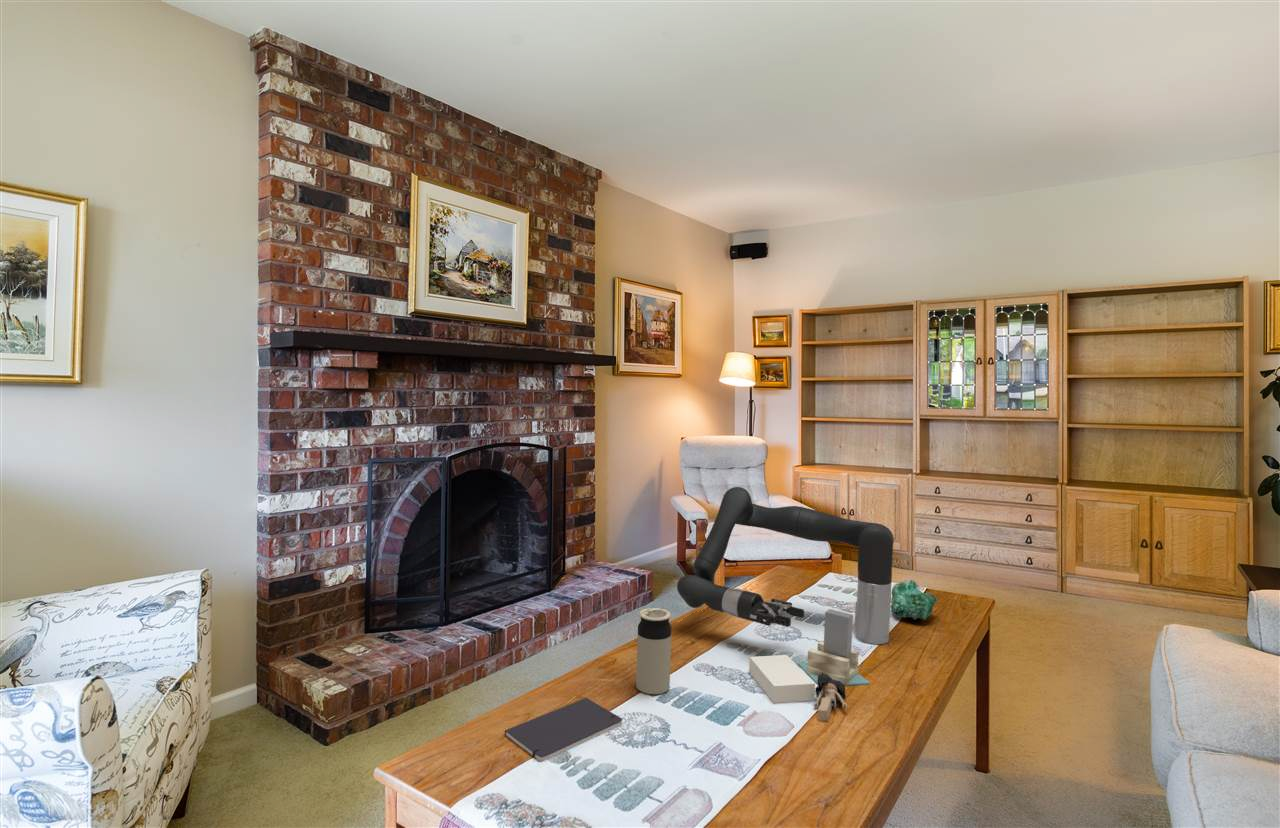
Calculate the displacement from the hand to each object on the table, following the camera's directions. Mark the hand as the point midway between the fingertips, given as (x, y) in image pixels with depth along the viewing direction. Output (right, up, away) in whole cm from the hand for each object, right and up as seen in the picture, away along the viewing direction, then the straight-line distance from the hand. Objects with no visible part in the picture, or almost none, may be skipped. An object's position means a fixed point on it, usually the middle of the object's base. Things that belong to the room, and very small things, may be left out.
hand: (797, 618), depth 169 cm
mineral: (+46, -12, +39) cm, 61 cm away
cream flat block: (-7, -12, -13) cm, 19 cm away
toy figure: (+2, -13, -22) cm, 26 cm away
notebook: (-57, -13, -35) cm, 68 cm away
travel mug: (-38, -12, -16) cm, 43 cm away
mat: (+8, -12, -6) cm, 16 cm away
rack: (+8, -12, -6) cm, 15 cm away
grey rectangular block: (+8, -11, -6) cm, 15 cm away
